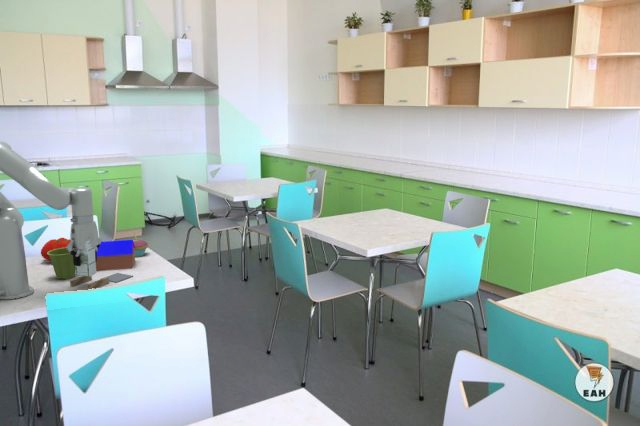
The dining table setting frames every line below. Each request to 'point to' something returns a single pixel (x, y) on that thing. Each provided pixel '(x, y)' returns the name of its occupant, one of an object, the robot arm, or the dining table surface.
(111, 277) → the pad
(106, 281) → the rails
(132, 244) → the house
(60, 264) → the plant pot
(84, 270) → the syrup box
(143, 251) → the cupcake
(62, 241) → the tomato
